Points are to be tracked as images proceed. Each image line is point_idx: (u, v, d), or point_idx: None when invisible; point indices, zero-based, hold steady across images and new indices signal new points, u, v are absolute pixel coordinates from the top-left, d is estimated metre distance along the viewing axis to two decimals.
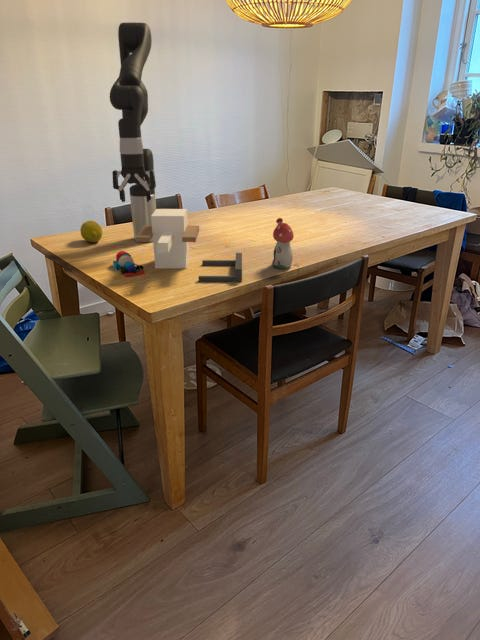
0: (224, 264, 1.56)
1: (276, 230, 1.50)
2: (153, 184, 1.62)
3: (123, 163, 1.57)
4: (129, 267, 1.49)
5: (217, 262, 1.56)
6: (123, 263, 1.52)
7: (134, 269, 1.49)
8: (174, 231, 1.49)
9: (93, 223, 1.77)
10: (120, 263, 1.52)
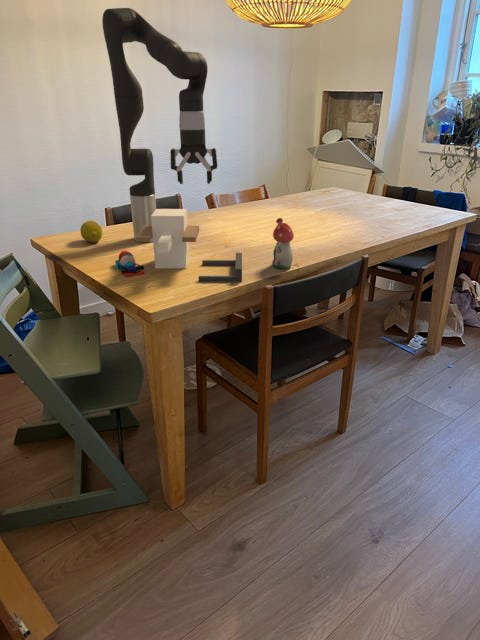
0: (224, 264, 1.56)
1: (276, 230, 1.50)
2: (215, 164, 1.46)
3: (183, 140, 1.41)
4: (129, 267, 1.49)
5: (217, 262, 1.56)
6: (124, 263, 1.52)
7: (134, 269, 1.49)
8: (174, 231, 1.49)
9: (93, 223, 1.77)
10: (121, 263, 1.52)
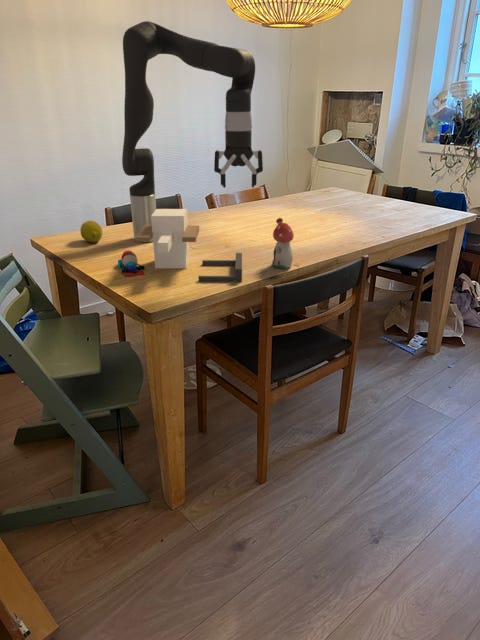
0: (224, 264, 1.56)
1: (276, 230, 1.50)
2: (261, 167, 1.39)
3: (229, 142, 1.35)
4: (130, 267, 1.49)
5: (217, 262, 1.56)
6: (126, 262, 1.52)
7: (134, 269, 1.49)
8: (174, 231, 1.49)
9: (93, 223, 1.77)
10: (123, 262, 1.53)
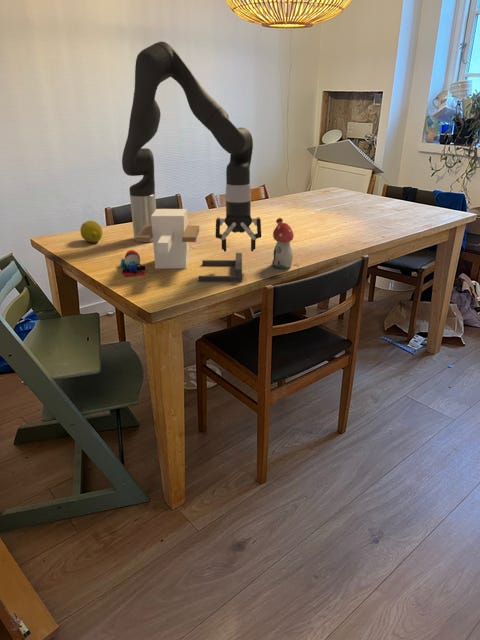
0: (224, 264, 1.56)
1: (276, 230, 1.50)
2: (260, 233, 1.47)
3: (230, 212, 1.43)
4: (130, 267, 1.49)
5: (217, 262, 1.56)
6: (128, 262, 1.53)
7: (135, 269, 1.49)
8: (174, 231, 1.49)
9: (93, 223, 1.77)
10: (125, 262, 1.53)
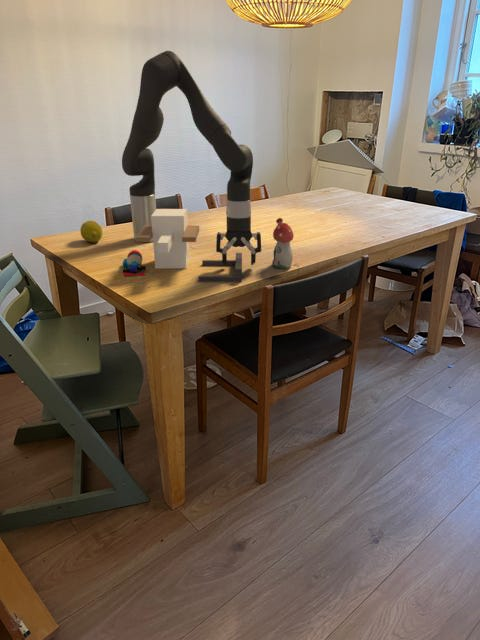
0: None
1: (276, 230, 1.50)
2: (260, 247, 1.50)
3: (230, 227, 1.45)
4: (130, 267, 1.49)
5: (217, 262, 1.56)
6: (129, 262, 1.53)
7: (135, 269, 1.49)
8: (174, 231, 1.49)
9: (93, 223, 1.77)
10: (127, 262, 1.53)
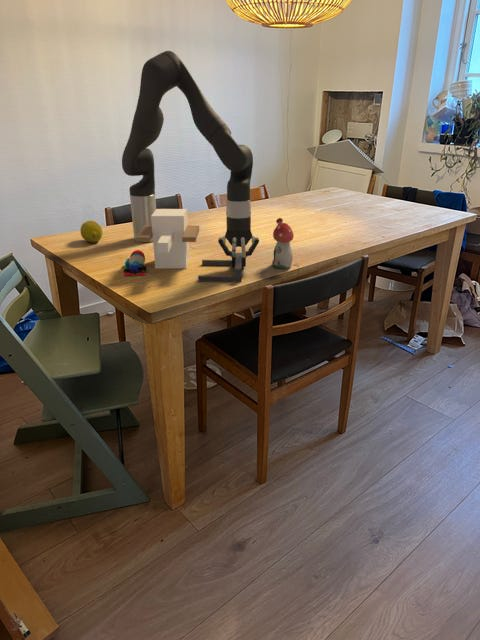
0: (224, 264, 1.56)
1: (276, 230, 1.50)
2: (251, 252, 1.50)
3: (230, 227, 1.45)
4: (131, 267, 1.49)
5: (217, 262, 1.56)
6: (131, 262, 1.53)
7: (135, 269, 1.49)
8: (174, 231, 1.49)
9: (93, 223, 1.77)
10: (129, 262, 1.54)
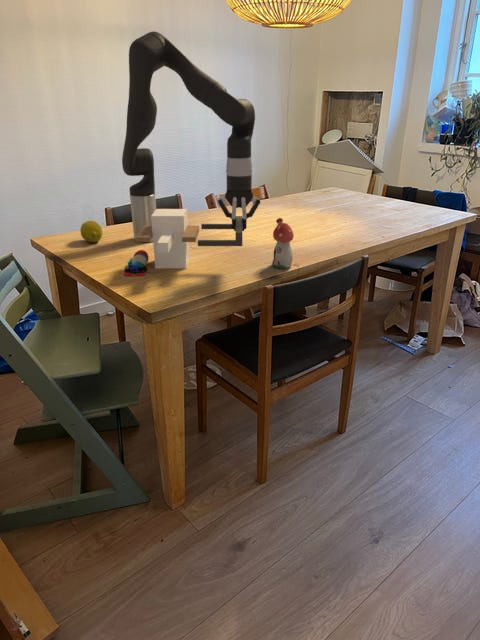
0: (224, 228, 1.52)
1: (276, 230, 1.50)
2: (252, 213, 1.45)
3: (230, 186, 1.40)
4: (132, 267, 1.49)
5: (217, 226, 1.51)
6: (133, 262, 1.53)
7: (136, 270, 1.49)
8: (174, 231, 1.49)
9: (93, 223, 1.77)
10: (132, 261, 1.54)
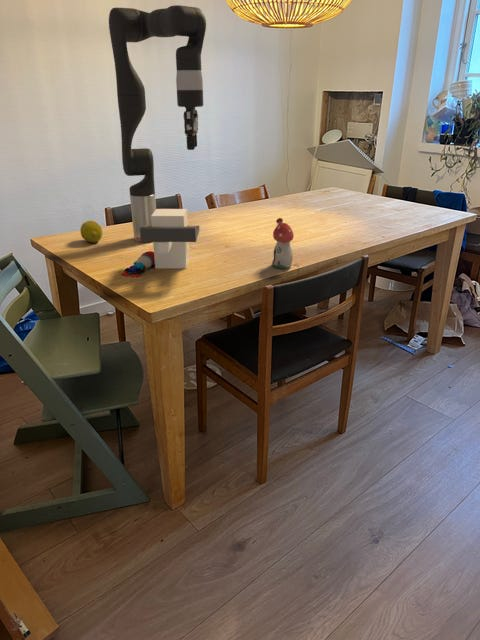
0: None
1: (276, 230, 1.50)
2: None
3: None
4: (130, 267, 1.49)
5: None
6: (137, 262, 1.53)
7: (133, 270, 1.48)
8: None
9: (93, 223, 1.77)
10: (137, 262, 1.54)
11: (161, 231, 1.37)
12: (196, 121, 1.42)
